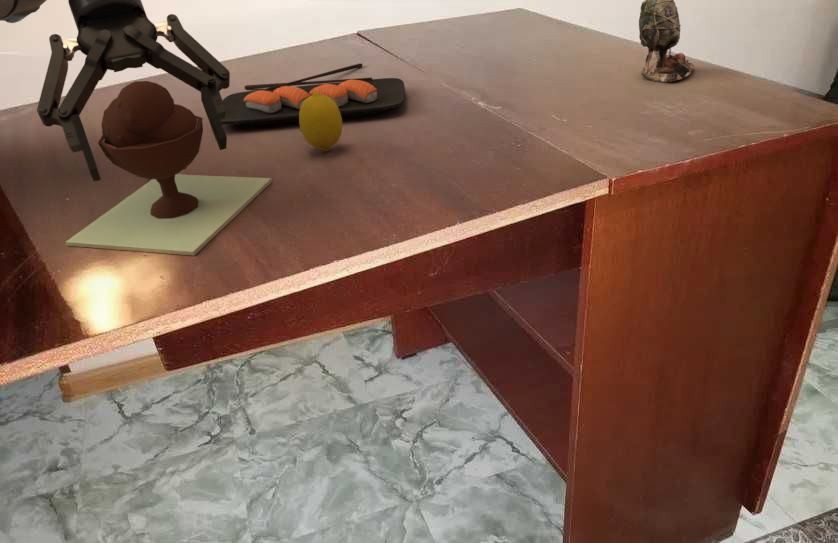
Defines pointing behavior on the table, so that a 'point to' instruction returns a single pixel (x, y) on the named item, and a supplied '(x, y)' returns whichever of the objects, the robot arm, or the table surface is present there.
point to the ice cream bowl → (153, 141)
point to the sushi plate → (286, 100)
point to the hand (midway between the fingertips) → (161, 159)
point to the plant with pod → (662, 41)
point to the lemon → (320, 121)
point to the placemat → (178, 235)
